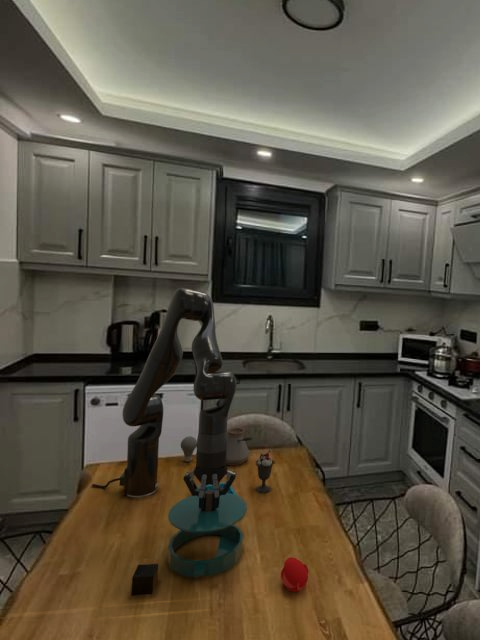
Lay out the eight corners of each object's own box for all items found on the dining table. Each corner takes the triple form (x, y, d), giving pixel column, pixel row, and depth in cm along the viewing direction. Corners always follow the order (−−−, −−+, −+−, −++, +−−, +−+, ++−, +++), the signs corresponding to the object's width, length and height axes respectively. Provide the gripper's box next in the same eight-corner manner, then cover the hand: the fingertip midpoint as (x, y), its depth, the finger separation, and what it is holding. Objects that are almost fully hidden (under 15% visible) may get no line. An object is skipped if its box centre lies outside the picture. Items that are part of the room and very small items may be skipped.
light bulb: (199, 460, 174) (200, 436, 173) (188, 465, 168) (189, 440, 167) (187, 457, 175) (188, 433, 175) (176, 462, 170) (177, 437, 169)
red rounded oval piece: (313, 587, 107) (315, 564, 107) (294, 599, 103) (296, 575, 102) (294, 571, 113) (295, 549, 112) (275, 581, 108) (276, 559, 108)
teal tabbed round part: (156, 589, 102) (157, 571, 102) (178, 531, 126) (179, 516, 125) (238, 583, 107) (239, 566, 106) (245, 528, 130) (245, 514, 130)
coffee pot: (215, 458, 176) (217, 423, 175) (242, 453, 183) (244, 419, 182) (234, 479, 160) (237, 440, 158) (264, 473, 167) (266, 435, 166)
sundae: (270, 494, 151) (273, 453, 150) (251, 492, 151) (253, 451, 150) (275, 485, 158) (277, 446, 156) (256, 484, 158) (259, 444, 156)
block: (131, 597, 99) (131, 577, 99) (137, 584, 103) (138, 564, 103) (152, 596, 100) (153, 576, 100) (157, 582, 105) (158, 563, 104)
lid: (159, 537, 103) (160, 513, 103) (177, 496, 122) (178, 476, 122) (244, 532, 108) (245, 509, 107) (248, 494, 127) (250, 474, 126)
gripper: (240, 441, 119) (237, 501, 120) (186, 441, 116) (183, 503, 117) (238, 452, 112) (234, 515, 113) (180, 452, 108) (177, 518, 110)
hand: (208, 508), depth 115 cm, fingers closed on lid, 2 cm apart
